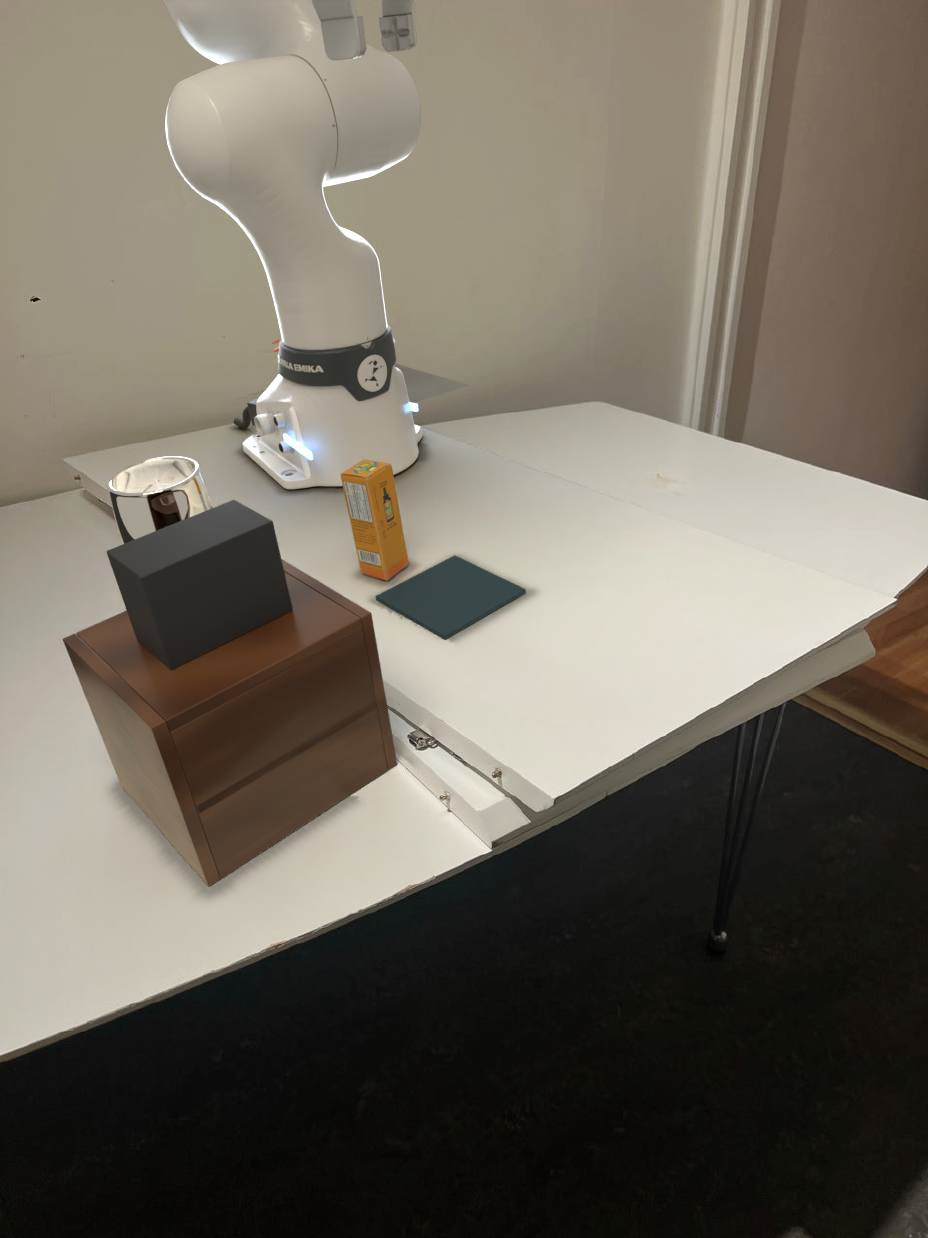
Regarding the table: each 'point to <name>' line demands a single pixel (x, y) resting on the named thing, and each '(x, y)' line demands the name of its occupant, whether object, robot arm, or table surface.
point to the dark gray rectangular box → (201, 582)
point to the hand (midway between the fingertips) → (375, 54)
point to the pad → (450, 596)
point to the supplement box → (375, 518)
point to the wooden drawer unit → (242, 724)
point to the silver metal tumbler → (156, 495)
